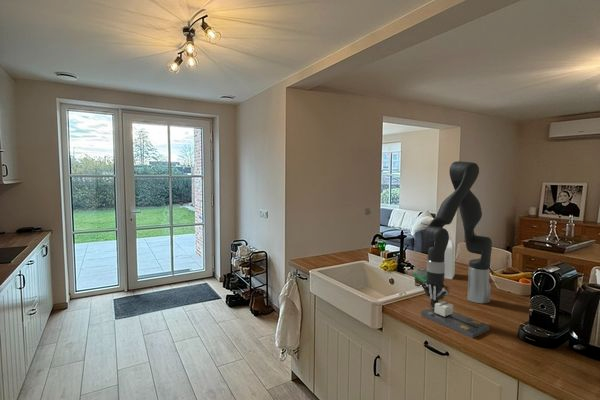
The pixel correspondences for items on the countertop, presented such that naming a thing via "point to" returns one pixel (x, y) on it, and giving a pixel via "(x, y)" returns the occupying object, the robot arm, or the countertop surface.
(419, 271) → the food container
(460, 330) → the fader console
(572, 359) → the countertop surface
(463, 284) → the countertop surface
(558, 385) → the countertop surface
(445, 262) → the milk
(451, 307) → the fader knob
